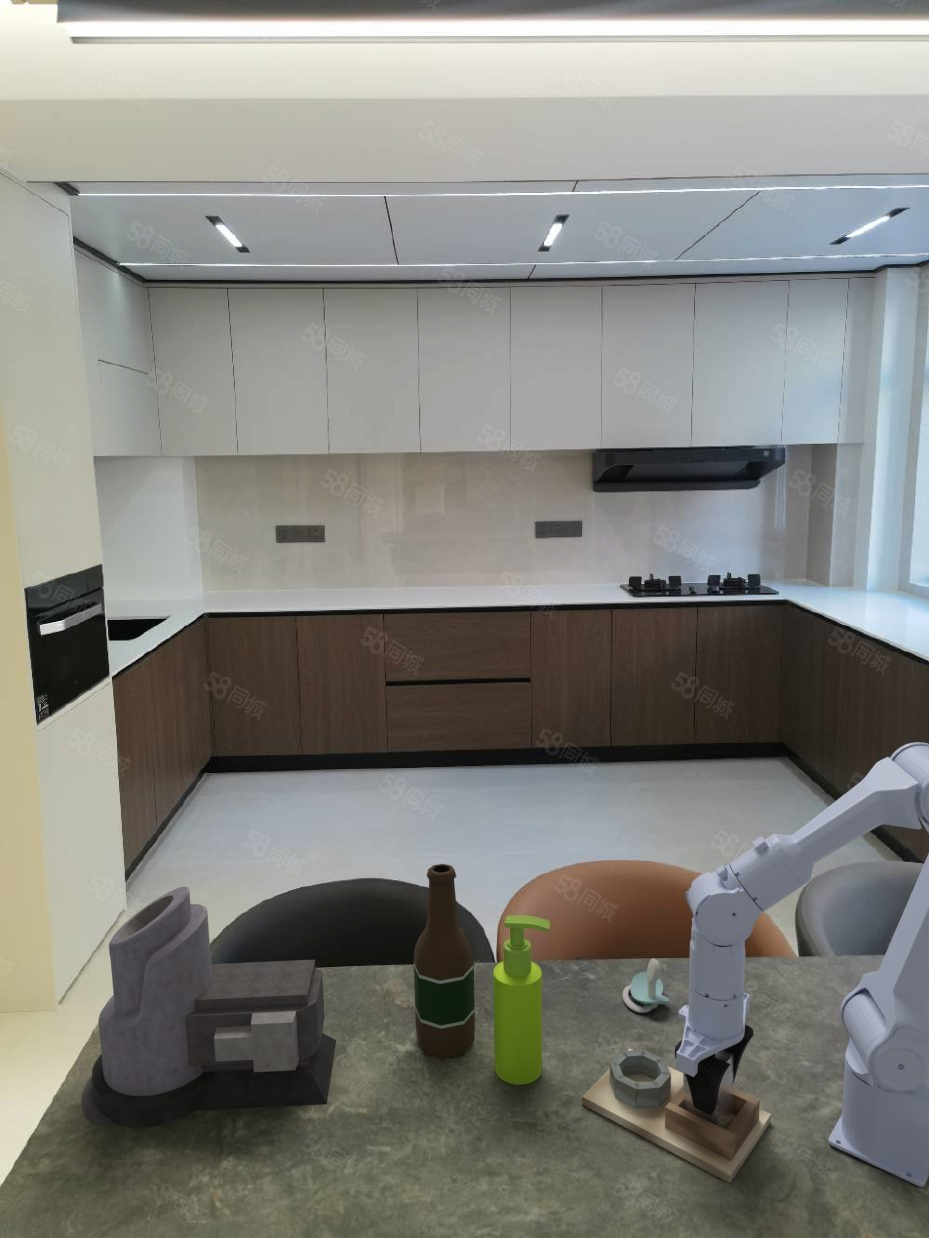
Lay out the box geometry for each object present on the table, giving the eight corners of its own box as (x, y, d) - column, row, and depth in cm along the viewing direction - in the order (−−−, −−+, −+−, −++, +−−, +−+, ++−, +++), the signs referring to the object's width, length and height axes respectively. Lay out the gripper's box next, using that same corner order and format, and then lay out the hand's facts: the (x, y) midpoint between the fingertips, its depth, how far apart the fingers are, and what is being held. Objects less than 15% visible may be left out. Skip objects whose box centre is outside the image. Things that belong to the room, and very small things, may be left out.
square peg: (732, 1118, 95) (733, 1053, 94) (717, 1140, 92) (718, 1072, 91) (699, 1103, 98) (699, 1039, 97) (683, 1123, 95) (683, 1057, 94)
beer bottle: (477, 1023, 115) (474, 855, 111) (472, 1062, 107) (469, 883, 103) (420, 1021, 116) (415, 854, 112) (411, 1059, 108) (405, 881, 104)
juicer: (59, 1132, 97) (38, 933, 93) (110, 1041, 113) (93, 867, 109) (325, 1118, 98) (315, 921, 94) (338, 1030, 114) (330, 858, 110)
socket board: (770, 1121, 96) (771, 1094, 96) (730, 1183, 88) (731, 1153, 87) (629, 1055, 108) (629, 1030, 107) (582, 1104, 100) (582, 1077, 99)
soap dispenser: (547, 1088, 102) (547, 934, 99) (491, 1081, 104) (488, 928, 100) (552, 1056, 108) (552, 909, 105) (498, 1050, 109) (496, 904, 106)
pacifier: (628, 1019, 116) (672, 1016, 116) (627, 976, 115) (671, 974, 115) (618, 987, 123) (659, 985, 123) (617, 947, 122) (659, 945, 122)
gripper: (710, 944, 100) (707, 1049, 102) (650, 1002, 89) (648, 1118, 91) (769, 965, 96) (765, 1074, 98) (714, 1029, 85) (710, 1150, 87)
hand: (712, 1097), depth 94 cm, fingers closed on square peg, 4 cm apart
